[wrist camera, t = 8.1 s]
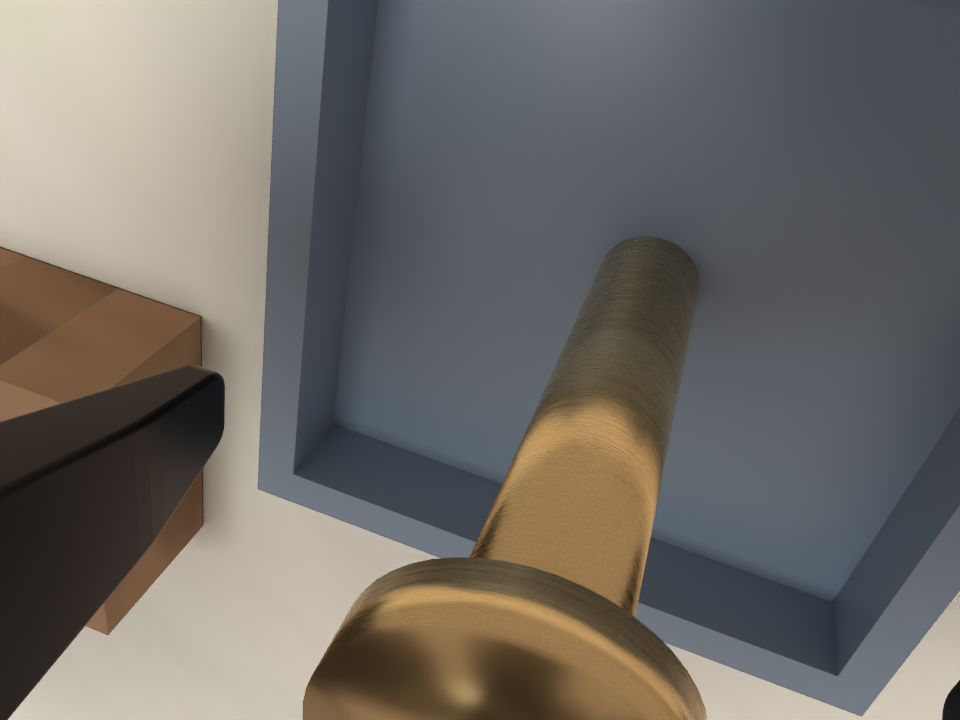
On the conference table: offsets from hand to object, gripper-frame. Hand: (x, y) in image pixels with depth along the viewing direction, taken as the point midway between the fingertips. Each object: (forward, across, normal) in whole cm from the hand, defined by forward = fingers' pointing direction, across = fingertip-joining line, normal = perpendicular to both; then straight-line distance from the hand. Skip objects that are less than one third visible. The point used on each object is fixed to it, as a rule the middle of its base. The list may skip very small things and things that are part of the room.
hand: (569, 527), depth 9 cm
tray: (+7, 0, 0) cm, 7 cm away
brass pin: (+7, 0, 0) cm, 7 cm away
